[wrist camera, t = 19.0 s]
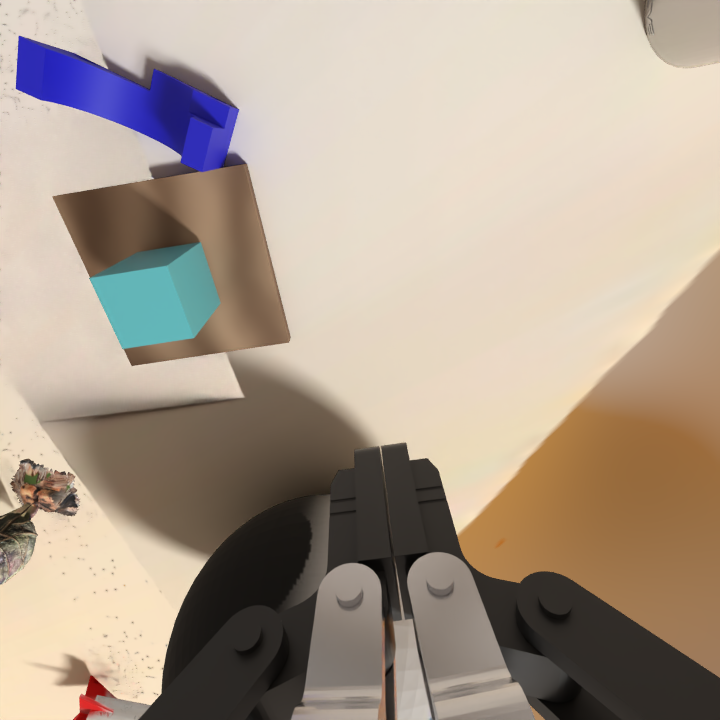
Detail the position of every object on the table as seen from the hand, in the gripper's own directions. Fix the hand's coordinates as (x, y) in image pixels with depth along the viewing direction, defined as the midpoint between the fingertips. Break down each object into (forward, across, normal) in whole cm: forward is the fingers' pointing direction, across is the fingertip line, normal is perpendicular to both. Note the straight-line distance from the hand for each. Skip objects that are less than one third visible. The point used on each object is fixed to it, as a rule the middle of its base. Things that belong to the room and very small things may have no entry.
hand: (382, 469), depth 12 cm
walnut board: (+29, +16, 0) cm, 33 cm away
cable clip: (+29, +14, -13) cm, 35 cm away
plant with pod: (+29, +42, +24) cm, 56 cm away
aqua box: (+27, +16, 0) cm, 32 cm away
